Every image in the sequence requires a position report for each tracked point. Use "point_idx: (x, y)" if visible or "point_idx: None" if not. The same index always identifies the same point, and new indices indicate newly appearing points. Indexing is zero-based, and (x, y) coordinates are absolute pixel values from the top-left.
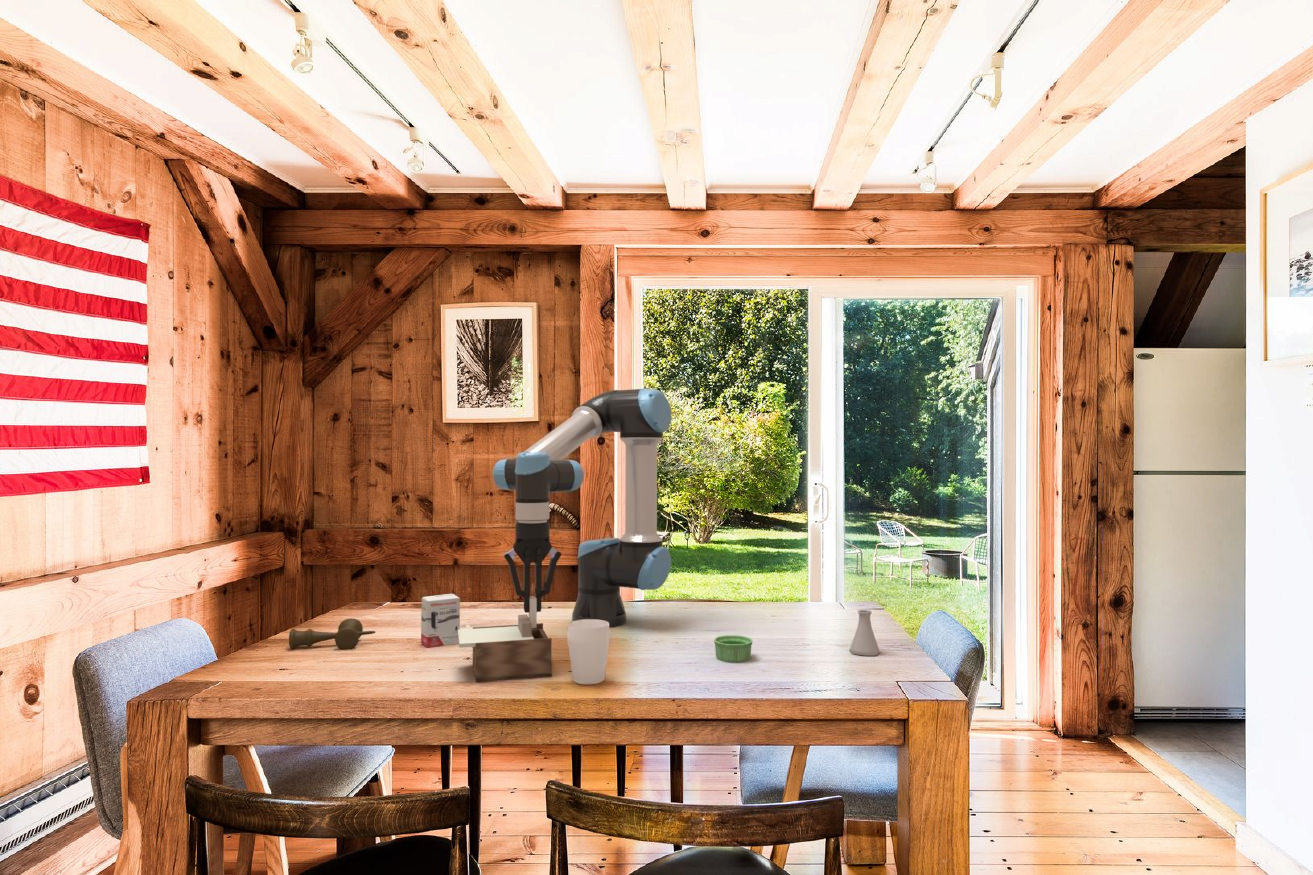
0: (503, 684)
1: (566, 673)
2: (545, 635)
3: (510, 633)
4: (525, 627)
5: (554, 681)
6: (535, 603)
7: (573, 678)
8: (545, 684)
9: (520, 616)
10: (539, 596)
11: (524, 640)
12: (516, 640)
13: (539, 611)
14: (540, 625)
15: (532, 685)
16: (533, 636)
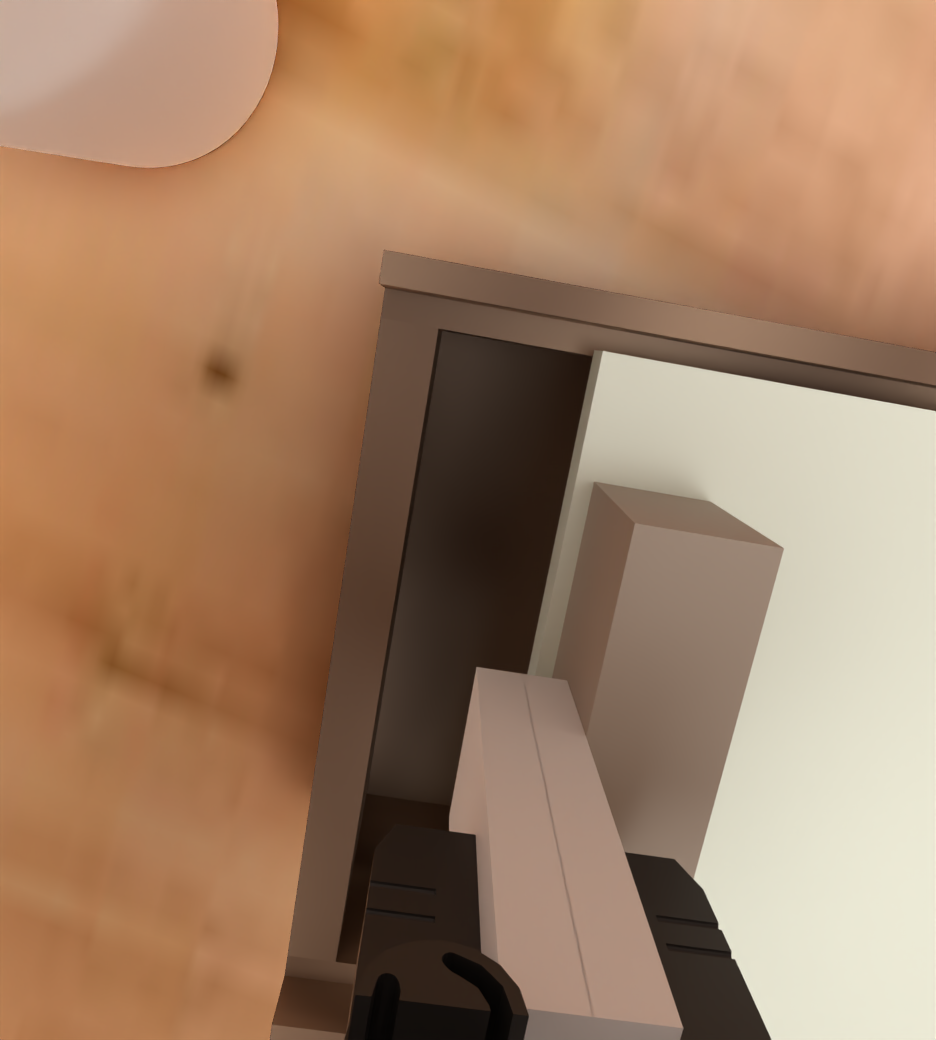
0: (833, 245)
1: (267, 321)
2: (341, 688)
3: (768, 751)
4: (710, 524)
5: (428, 133)
6: (521, 910)
7: (275, 13)
8: (525, 80)
9: None
10: (440, 992)
11: (745, 320)
12: (846, 348)
13: (415, 829)
14: (305, 1011)
15: (633, 103)
16: None
